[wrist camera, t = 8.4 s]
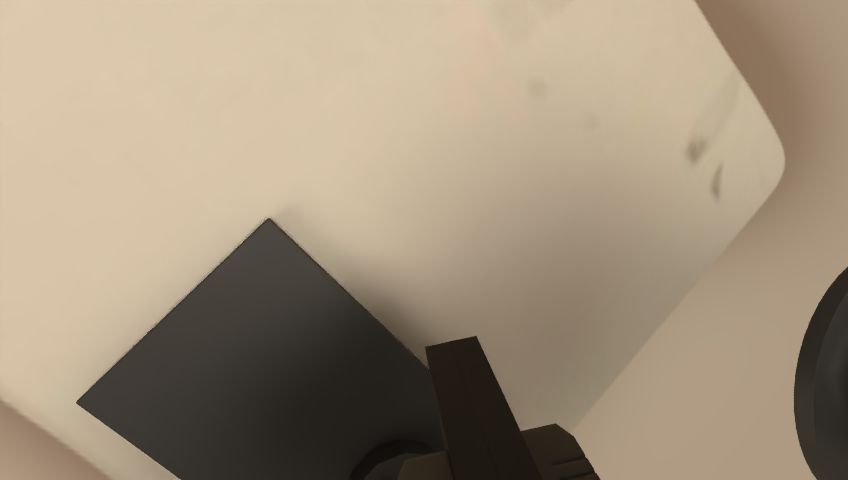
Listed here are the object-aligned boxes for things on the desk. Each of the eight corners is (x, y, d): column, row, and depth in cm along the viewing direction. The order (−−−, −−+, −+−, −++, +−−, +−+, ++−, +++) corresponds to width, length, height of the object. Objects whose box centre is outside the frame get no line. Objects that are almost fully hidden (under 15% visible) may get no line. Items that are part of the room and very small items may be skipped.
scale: (492, 429, 30) (515, 452, 27) (355, 590, 28) (364, 634, 25) (269, 217, 25) (267, 218, 22) (86, 392, 23) (59, 417, 20)
